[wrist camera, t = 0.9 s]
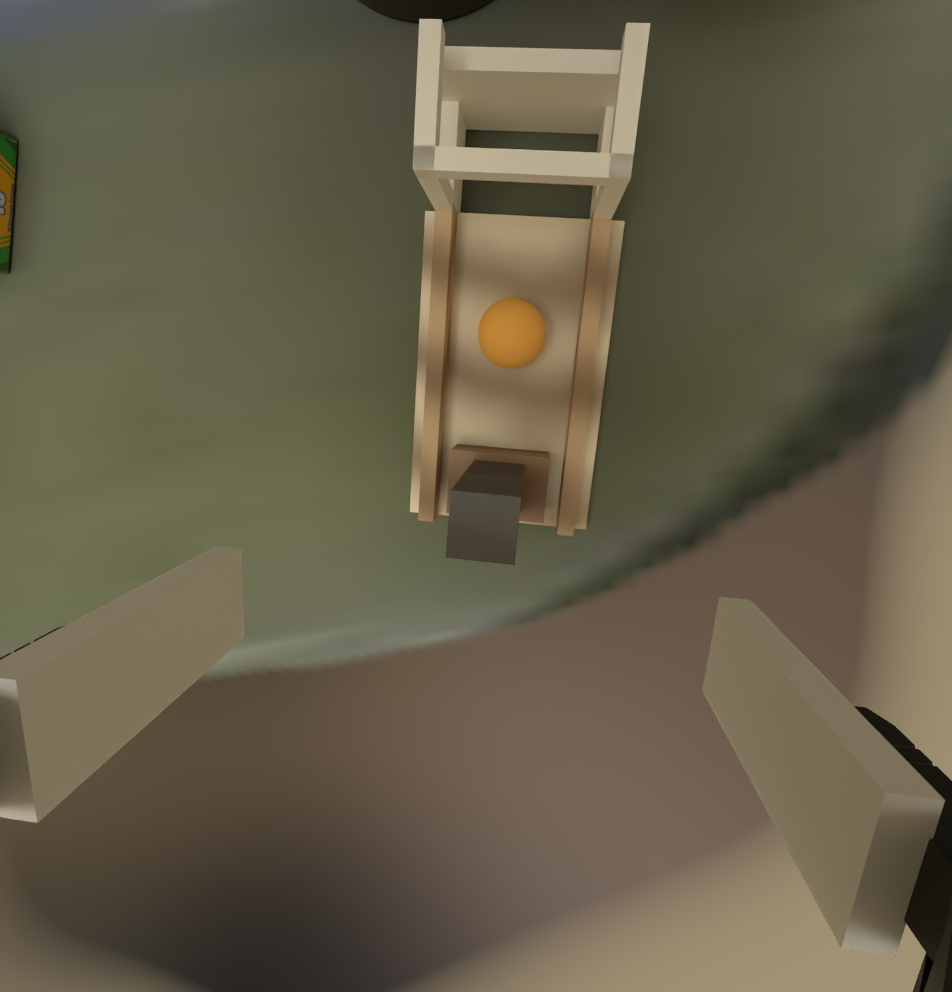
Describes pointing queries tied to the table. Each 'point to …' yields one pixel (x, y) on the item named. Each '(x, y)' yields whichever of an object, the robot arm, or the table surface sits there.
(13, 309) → the table surface
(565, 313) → the tray
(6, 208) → the chalk box
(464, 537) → the sled
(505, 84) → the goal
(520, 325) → the ball
